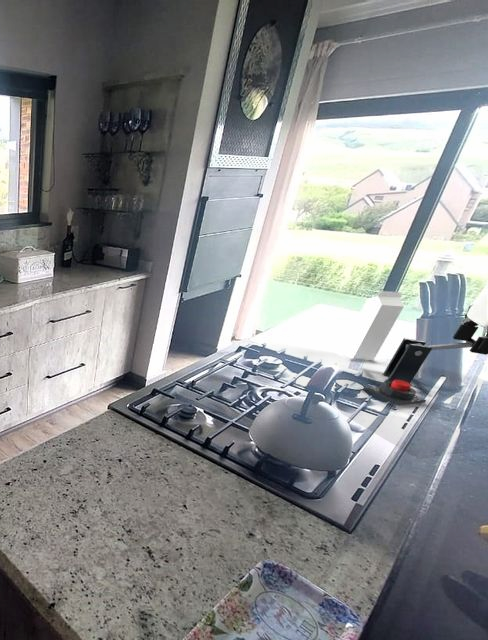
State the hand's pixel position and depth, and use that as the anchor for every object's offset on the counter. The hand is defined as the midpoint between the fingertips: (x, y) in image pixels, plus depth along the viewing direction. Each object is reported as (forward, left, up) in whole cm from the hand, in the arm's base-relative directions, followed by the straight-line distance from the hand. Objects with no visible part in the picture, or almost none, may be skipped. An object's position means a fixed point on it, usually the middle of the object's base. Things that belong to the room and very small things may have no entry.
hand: (469, 346), depth 103 cm
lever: (+3, -3, -3) cm, 5 cm away
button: (+17, +1, -11) cm, 20 cm away
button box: (+17, +1, -14) cm, 23 cm away
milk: (+2, -21, -14) cm, 26 cm away
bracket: (+7, -6, -14) cm, 17 cm away
